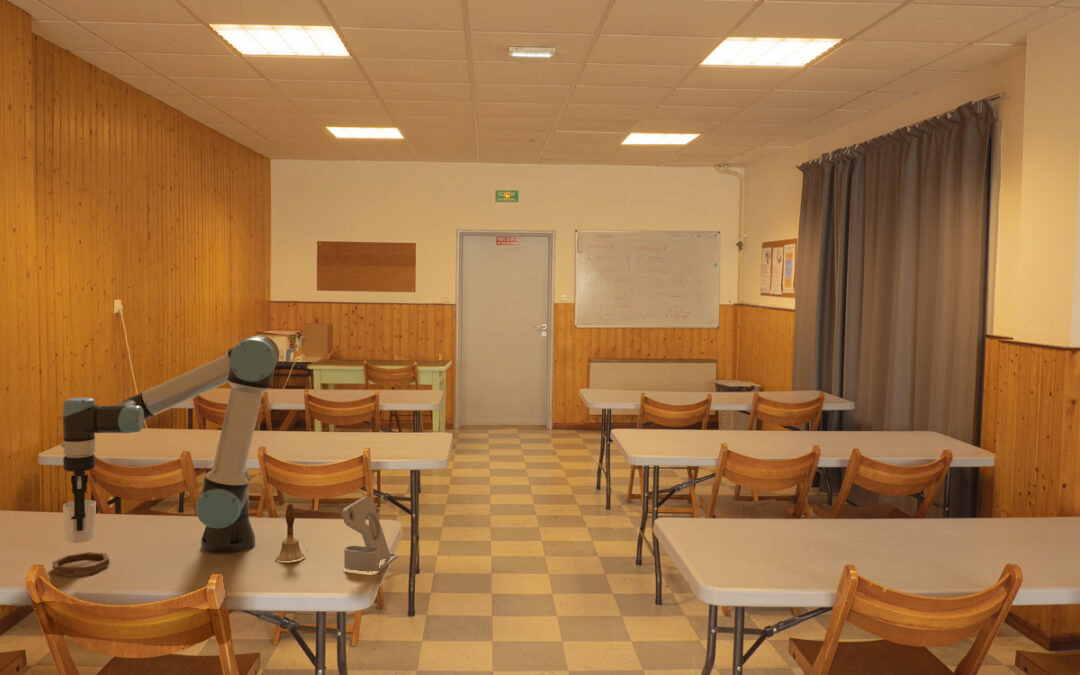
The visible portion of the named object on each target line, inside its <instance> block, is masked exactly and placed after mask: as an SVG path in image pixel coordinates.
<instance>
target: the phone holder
mask: <svg viewBox="0 0 1080 675" xmlns="http://www.w3.org/2000/svg"><path fill="white" fill-rule="evenodd" d="M341 515H342V520H343V523H344V524H345V525H346V526H347V527H349V528H350V529H352V530H353V531H356V532H357V533H359V534H360V535H361V536H362V539H363V542H364V545H365V546H362V545H361V546H360V545H349V546H345V548H344V549H343V550H344V555H343V556H344V558H343V561H344V562H343V563H344V566H343V567H344V568H346V569H349V570H358V571H367V572H369V571H371V572H372V571H377V572H378V571H380V572H382V571H383V570H384V569H385V568H386V567H387V566H389V565H390V564H392V563H393V562H394V561H395V560H397V558H398V557H399V554H398V553H395V552H390V549H389V547H388V543H387V540H386V536H385V533H384V531H383V528H382V525H381V521H380V519H379V517H378V513H377V509H376V507H375V503H374V500H373V498H372V497H371V496H370V495H367V496H363V497H361V498H360V499H357V500H356V501H355V502H352V503H351V504H349V505H348V506H346V507H345V508H343V509H342V512H341ZM367 519H368V524H367V523H366V522H367V521H366V520H367ZM382 559H386V560H385V563H384V564H383V565H381V566H380V568H379V562H380V560H382ZM344 568H343V569H344Z"/></svg>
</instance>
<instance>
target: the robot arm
mask: <svg viewBox="0 0 1080 675" xmlns="http://www.w3.org/2000/svg"><path fill="white" fill-rule="evenodd" d="M279 358H280V350H279V347H278V345H277V343H275V341H274V340H273V339H271V338H270V337H269V336H266V335H261V334H256V335H255V334H254V335H252V336H249V337H246V338H244V339H242V340H240V341H239V342H238V343H236V345H235V346H234V347H232V348H229V349H227V350H226V352H225V355H223V356H220V357H218V358H215V359H214V360H211V361H209V362H206V363H204V364H203V365H202V364H201V365H200V366H198V367H196V368H194V369H192V370H189V371H186V372H184V373H182V374H180V375H177V376H176V377H173V378H172V379H169V380H167V381H165V382H163V383H160V384H158V385H156V386H154V387H151V388H149V389H147V390H144V391H143V392H141V393H139V394H136V395H134V396H130V397H127V398H126V399H123V401H121V402H119V403H117V404H115V405H99V404H97V405H96V403H95V399H94V398H92V397H86V396H85V397H84V396H83V397H72V398H68V399H66V400H65V401H63V407H62V432H63V438H62V439H63V443H61V444H60V448H63V455H64V457H63V459H62V460H63V461H62V462H63V463H62V464H63V468H62V469H63V470H64V471H66V472H73V475H70V476H71V477H70V478H71V480H70V482H71V486H72V487H71V488H72V489H71V490H72V491H71V492H72V494H73V495H74V496H73V497H74V498H73V501H74V517H71V520H72V519H74V543H73V544H78V543H77V542H82V543H85V542H86V520H85V500H86V493H87V492H88V491H87V490H88V488H87V487H88V482H89V478H88V477H89V476H88V474H86V471H91V470H93V469H95V467H96V455H95V454H94V453H95V452H96V434H132V433H140V432H141V431H142V429H143V427H144V424H145V421H146V420H148V419H150V418H152V417H154V416H157V415H158V414H161V413H163V412H165V411H167V410H169V409H172V408H175V407H176V406H179V405H180V404H183V403H186V402H187V401H189V400H191V399H193V398H196V397H199V396H201V395H203V394H205V393H207V392H209V391H212V390H214V389H216V388H218V387H220V386H221V387H222V386H223V385H225V384H227V383H228V385H229V386H230V392H229V397H228V402H227V405H226V408H225V414H224V417H223V418H224V419H223V423H222V427H221V431H220V435H219V440H218V443H217V448H216V453H215V458H214V461H213V466H212V469H211V470H210V471H208V472H207V473H205V475H204V479H203V484H202V488H201V491H200V495H199V497H198V499H197V500H196V505H195V512H196V516H197V518H198V520H199V521H200V522H201V523H202V524H203V526H204V525H205V527H204V530H203V533H202V537H201V540H200V548H201V550H202V551H203V552H206V553H209V554H229V553H237V552H242V551H245V550H248V549H250V548H252V547H254V546H255V544H256V536H255V533H254V529H253V527H252V524H251V521H250V515H249V513H250V512H249V511H250V508H249V506H250V504H249V503H250V502H249V499H250V498H249V494H250V493H249V491H250V490H249V486H250V482H249V481H250V477H249V471H248V470H247V469H246V467H247V463H248V459H249V455H250V452H251V451H250V450H251V446H252V442H253V437H254V434H255V429H256V425H257V421H258V416H259V413H260V408H261V403H262V399H263V395H264V393H265V392H267V391H268V390H270V388H271V385H272V381H273V376H274V372H275V368H276V366H277V364H278V362H279ZM77 513H80V514H77Z"/></svg>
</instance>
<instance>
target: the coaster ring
mask: <svg viewBox="0 0 1080 675" xmlns="http://www.w3.org/2000/svg"><path fill="white" fill-rule="evenodd" d="M109 565H110V557H109V556H108V554H107V553H103V552H94V551H93V552H91V551H87V552H81V553H75V554H68V555H67V554H66V555H65V556H62V557H61V558H58V559H56V560H54V561H52V570H53V574H54V575H56V576H59V577H81V576H87V575H92V574H95V573H98V572H101V571H103V570H105V569H106V568H107V567H108V566H109Z"/></svg>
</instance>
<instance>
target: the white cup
mask: <svg viewBox="0 0 1080 675" xmlns="http://www.w3.org/2000/svg"><path fill="white" fill-rule="evenodd" d="M96 507H97V502H96V501H95V500H92V499H85V520H86V542H90V541H91V540H92V541H93V539H94V538H95V528H96V517H97V516H96V512H97V508H96ZM62 512H63V525H64V526H63V527H64V532H65V533H64V534H65V537H64V538H65V541H66V543H67V544H68V543H69V544H75V543H74V519H72V520H71V517H74V500H72V501H68V502H65V503H64V504H62ZM77 514H80V513H77ZM79 543H80V544H82V543H83V542H77V543H76V544H79Z"/></svg>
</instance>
